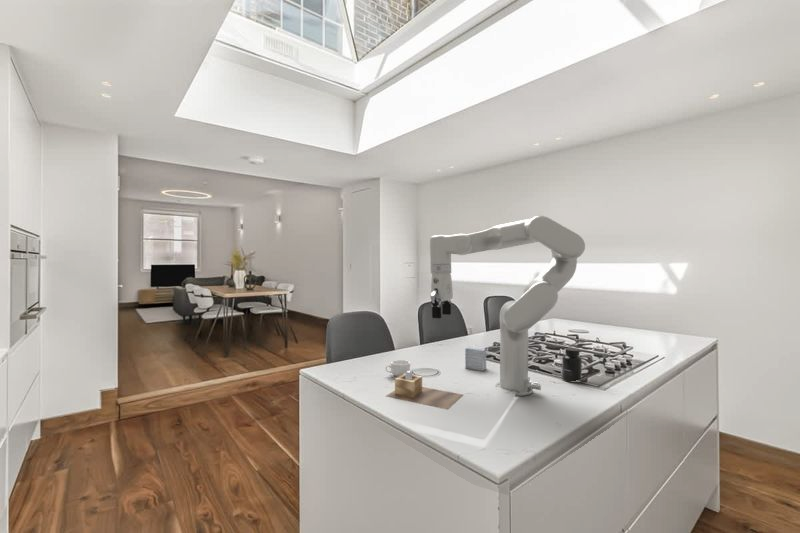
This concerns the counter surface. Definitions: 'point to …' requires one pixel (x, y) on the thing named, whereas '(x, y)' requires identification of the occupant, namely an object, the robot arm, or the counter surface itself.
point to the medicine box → (475, 358)
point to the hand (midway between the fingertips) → (441, 316)
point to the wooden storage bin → (408, 385)
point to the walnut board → (431, 398)
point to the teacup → (399, 367)
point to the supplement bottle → (571, 365)
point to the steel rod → (408, 375)
